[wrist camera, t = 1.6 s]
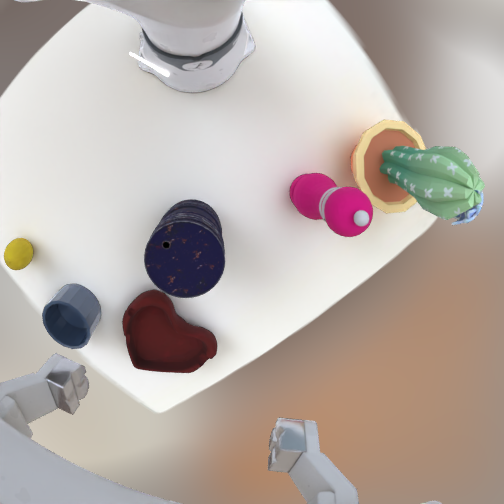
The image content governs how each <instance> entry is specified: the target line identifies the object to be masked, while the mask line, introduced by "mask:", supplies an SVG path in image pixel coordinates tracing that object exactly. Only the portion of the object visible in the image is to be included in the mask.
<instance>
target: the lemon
mask: <svg viewBox="0 0 504 504" xmlns="http://www.w3.org/2000/svg"><path fill="white" fill-rule="evenodd" d="M32 257H33V248H32V245H31V243H30V242H29V241H28V240H26V239H24V238H17V239H15V240H13V241H11V242H10V243H9V244H8V245H7V247H6V249H5V252H4V260H5V263H6V264H7V266H8V267H9V268H10V269H12V270H20V269H23V268H25V267H26V266H27V265H28V264H29V263H30V262H31V260H32Z"/></svg>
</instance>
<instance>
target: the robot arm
mask: <svg viewBox="0 0 504 504" xmlns="http://www.w3.org/2000/svg"><path fill="white" fill-rule="evenodd" d="M15 1H18V2H33V1H40V0H15ZM78 1H84V2H89V3H93V4H97V5H101V6H104V7H108V8H111V9H114V10H116V11H119V12H122V13H124V14H127V15H129V16H131V17H133V18H135V19H136V20H137V21H138V23H139V24H140V25H141V26H142V30H143V32H140V40H141V45H140V52H139V56H137V55H135V54H133V53H132V52H130V53H129V54H130V55H132V56H133V57H135V58H137V59H138V65H139V67H140V68H141V69H142V70H144V71H147V72H150V73H153V74H155V75H156V76H157V77H158V78H159V79H160V80H161V81H162V82H163V83H165V84H166V85H168V86H169V87H171V88H173V89H176V90H179V91H183V92H202V91H207V90H210V89H213V88H215V87H217V86H219V85H221V84H222V83H224V82H225V81H227V80H228V79H229V78H230V77H231V76H232V75H233V73H234V72H235V71H236V69H237V67H238V66H239V64H240V62H241V61H242V60H243V59H244V58H246V57H247V56H248V55H250V54H251V53H252V52H253V51H254V49H255V43H254V40H253V38H252V35H251V33H250V31H249V28H248V26H247V24H246V21H245V19H244V17H243V13H242V9H243V5H244V2H245V0H78ZM85 373H86V370H85V367H84V366H83V365H80V364H78V363H76V362H74V361H72V360H70V359H67V358H66V357H64V356H61V355H59V354H57V353H56V354H53V355H52V356H51V358H50V359H49V360H48V361H47V362H46V363H45V364H44V365H43V366H42V367H41V368H40V370H39V371H38V372H37V373H36V374H35V373H31V374H28V375H25V376H21V377H18V378H15V379H12V380H8V381H5V382H2V383H0V504H181V503H178V502H174V501H170V500H166V499H163V498H160V497H156V496H153V495H150V494H146V493H144V492H140V491H137V490H134V489H132V488H129V487H126V486H124V485H121V484H118V483H116V482H113V481H111V480H109V479H106V478H104V477H101V476H99V475H97V474H94V473H92V472H90V471H88V470H86V469H84V468H82V467H80V466H78V465H76V464H74V463H72V462H70V461H68V460H66V459H64V458H62V457H60V456H59V455H57V454H55V453H53V452H51V451H50V450H48V449H46V448H45V447H43V446H41V445H40V444H38V443H37V442H35V441H33V440H32V439H30V438H31V437H32V435H33V433H32V431H31V429H30V427H29V426H28V423H30V422H32V421H34V420H36V419H38V418H40V417H42V416H44V415H46V414H48V413H50V412H52V411H54V410H56V409H57V408H59V409H61V410H64V411H66V412H68V413H70V414H72V415H73V414H74V413H75V411H76V409H77V408H78V407H79V405H80V404H79V400H81V399H83V398H84V397H85V396H86V394H87V392H88V389H89V382H88V379H87V377H86V376H85ZM269 450H270V451H271V453H270V455H269V457H268V458H269V459H268V470H269V471H277V472H287V473H289V475H290V477H291V478H292V480H293V481H294V483H295V485H296V486H297V488H298V489H299V491H300V492H301V494H302V495H303V497H304V498H305V500H306V501H307V504H359V502H358V495H357V489H356V488H355V487H354V486H353V485H352V484H351V483H350V482H349V481H348V480H347V479H346V478H345V476H344V475H343V474H342V473H341V472H340V471H339V470H338V469H337V468H336V466H335V465H334V464H333V463H332V462H331V461H330V460H329V459H328V458H327V456H326V455H325V454H324V453H320V447H319V437H318V429H317V423H316V422H315V421H308V420H299V419H288V418H278V419H277V421H276V427H275V428H273V430H272V433H271V436H270V441H269ZM421 504H442V503H440V502H438V501H429V502H425V503H421Z"/></svg>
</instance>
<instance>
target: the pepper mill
mask: <svg viewBox="0 0 504 504" xmlns="http://www.w3.org/2000/svg"><path fill="white" fill-rule="evenodd" d="M290 198H291V201H292V202H293V204H294V205H295V206H296V208H297V210H298V211H299V212H300V213H301V214H302V215H304V216H305V217H307V218H310V219H315V220H317V219H324V220H325V221H326V222H327V224H328V226H329V227H330V229H331V230H333V231H334V232H335V233H337V234H339V235H341V236H345V237H353V236H357V235H359V234H361V233H362V232H364V231H365V230H366V229H367V228H368V226H369V225H370V223H371V220H372V216H373V208H372V204H371V201H370V199H369V198H368V197H367V195H366V194H365V193H364V192H362V191H361V190H359V189H357V188H354V187H342V188H341V187H337V185H336V184H335V182H334V181H333V180H332V179H331V178H329V177H328V176H326V175H323V174H320V173H311V174H304V175H301V176H299V177H297V178H296V179H295V180H294V181H293V183H292V185H291V187H290Z"/></svg>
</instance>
